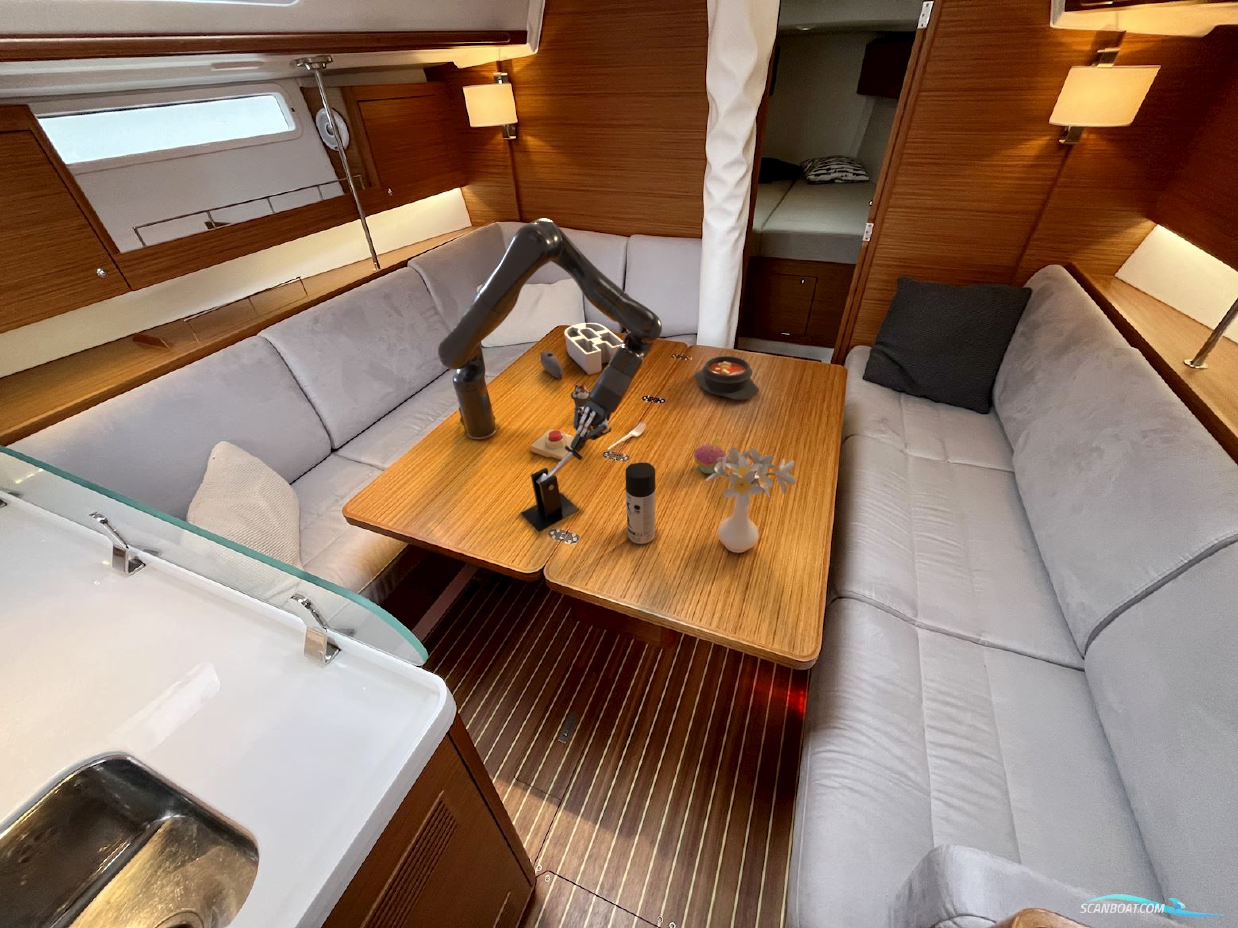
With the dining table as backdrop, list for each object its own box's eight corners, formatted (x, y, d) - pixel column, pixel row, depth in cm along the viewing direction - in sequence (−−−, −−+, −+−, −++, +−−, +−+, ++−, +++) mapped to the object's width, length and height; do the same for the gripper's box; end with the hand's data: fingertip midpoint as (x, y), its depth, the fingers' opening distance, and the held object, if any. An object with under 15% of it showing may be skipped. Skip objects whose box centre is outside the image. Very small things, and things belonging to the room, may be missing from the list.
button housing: (531, 451, 149) (529, 440, 147) (551, 434, 156) (549, 424, 153) (563, 463, 144) (561, 451, 142) (582, 445, 151) (581, 434, 148)
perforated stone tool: (568, 380, 184) (566, 363, 179) (555, 384, 182) (552, 366, 178) (553, 364, 194) (551, 348, 190) (540, 368, 192) (538, 351, 188)
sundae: (591, 428, 158) (587, 386, 149) (571, 426, 159) (566, 385, 150) (596, 416, 163) (593, 375, 154) (577, 415, 164) (572, 374, 155)
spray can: (626, 526, 123) (623, 462, 110) (653, 523, 123) (653, 459, 111) (629, 546, 117) (625, 481, 105) (657, 543, 118) (657, 478, 105)
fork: (595, 455, 146) (595, 450, 145) (640, 425, 157) (640, 421, 156) (603, 459, 144) (603, 454, 143) (648, 429, 156) (648, 424, 154)
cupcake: (726, 462, 141) (730, 427, 133) (721, 480, 134) (724, 445, 127) (696, 457, 143) (698, 422, 136) (690, 475, 137) (691, 440, 129)
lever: (570, 448, 125) (566, 442, 123) (584, 459, 121) (580, 453, 119) (536, 482, 123) (531, 477, 121) (549, 494, 119) (544, 489, 117)
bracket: (560, 495, 133) (554, 457, 125) (579, 512, 127) (574, 474, 119) (521, 516, 127) (512, 477, 119) (539, 535, 122) (531, 496, 114)
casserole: (771, 393, 169) (774, 371, 164) (730, 411, 162) (732, 388, 157) (721, 366, 186) (723, 345, 181) (682, 381, 179) (682, 360, 174)
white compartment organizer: (588, 375, 186) (586, 354, 180) (561, 348, 206) (558, 328, 200) (627, 365, 191) (626, 344, 186) (597, 339, 211) (595, 319, 206)
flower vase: (788, 550, 114) (808, 465, 98) (715, 572, 110) (724, 486, 95) (758, 513, 124) (773, 430, 108) (690, 532, 120) (695, 449, 104)
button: (547, 440, 147) (546, 435, 146) (554, 433, 150) (553, 429, 149) (556, 443, 146) (556, 438, 145) (564, 437, 148) (563, 432, 147)
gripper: (584, 373, 121) (549, 433, 123) (618, 392, 113) (579, 457, 115) (603, 385, 127) (569, 442, 129) (636, 404, 119) (599, 466, 120)
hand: (574, 449), depth 122 cm, fingers closed
